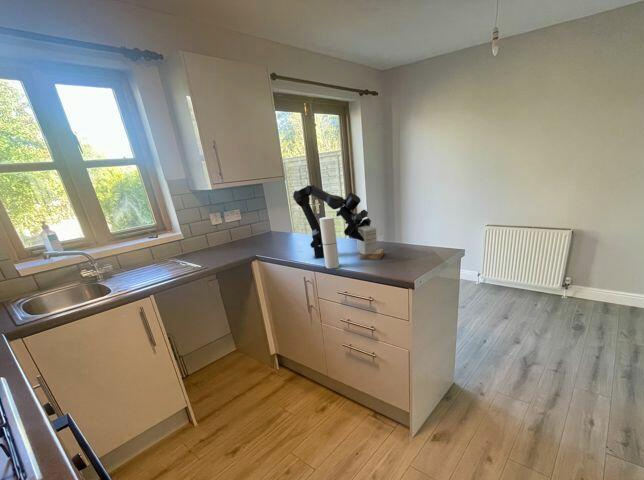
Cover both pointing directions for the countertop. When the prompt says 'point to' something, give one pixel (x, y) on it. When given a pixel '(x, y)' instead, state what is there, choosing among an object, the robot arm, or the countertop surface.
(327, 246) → the cylindrical container
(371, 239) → the white packaging box
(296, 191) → the robot arm
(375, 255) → the tan flat block
